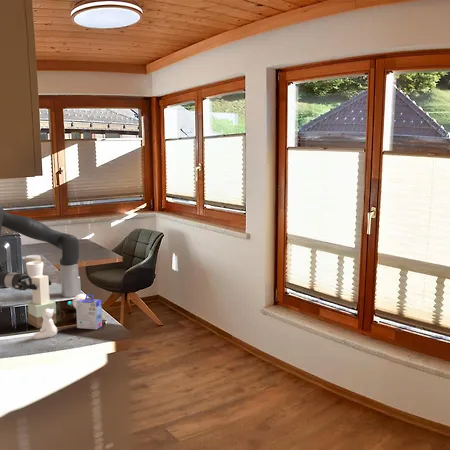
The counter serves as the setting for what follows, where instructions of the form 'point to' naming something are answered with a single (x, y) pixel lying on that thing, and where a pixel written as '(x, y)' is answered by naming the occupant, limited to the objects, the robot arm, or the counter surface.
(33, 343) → the counter surface
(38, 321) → the tower base slab
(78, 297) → the perfume bottle
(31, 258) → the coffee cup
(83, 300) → the ink cartridge box
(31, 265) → the foam cup
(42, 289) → the cream block
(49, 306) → the tower top slab
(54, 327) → the white creature statuette
